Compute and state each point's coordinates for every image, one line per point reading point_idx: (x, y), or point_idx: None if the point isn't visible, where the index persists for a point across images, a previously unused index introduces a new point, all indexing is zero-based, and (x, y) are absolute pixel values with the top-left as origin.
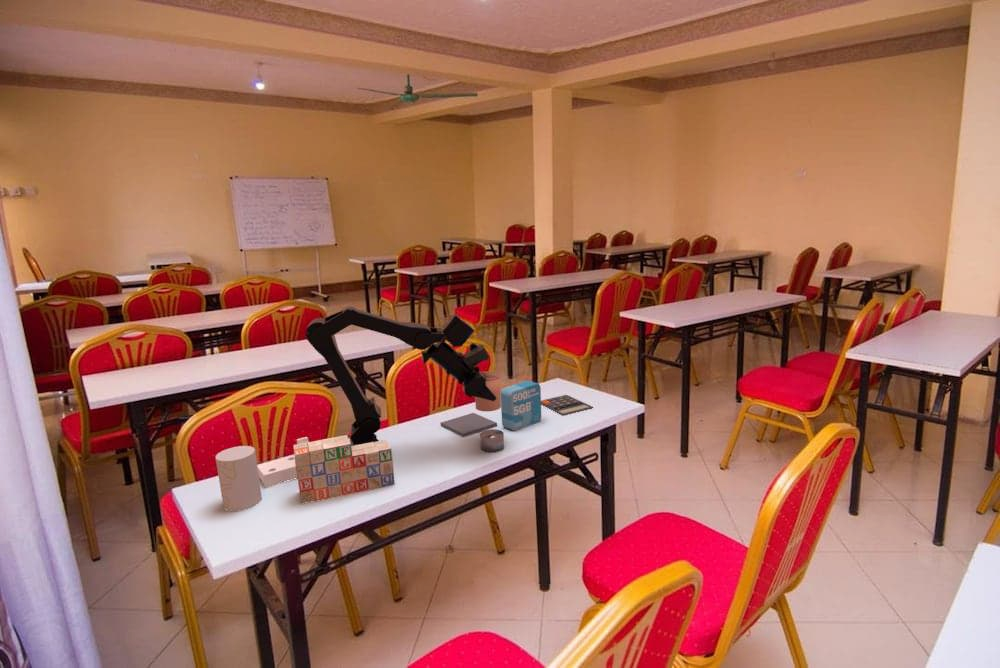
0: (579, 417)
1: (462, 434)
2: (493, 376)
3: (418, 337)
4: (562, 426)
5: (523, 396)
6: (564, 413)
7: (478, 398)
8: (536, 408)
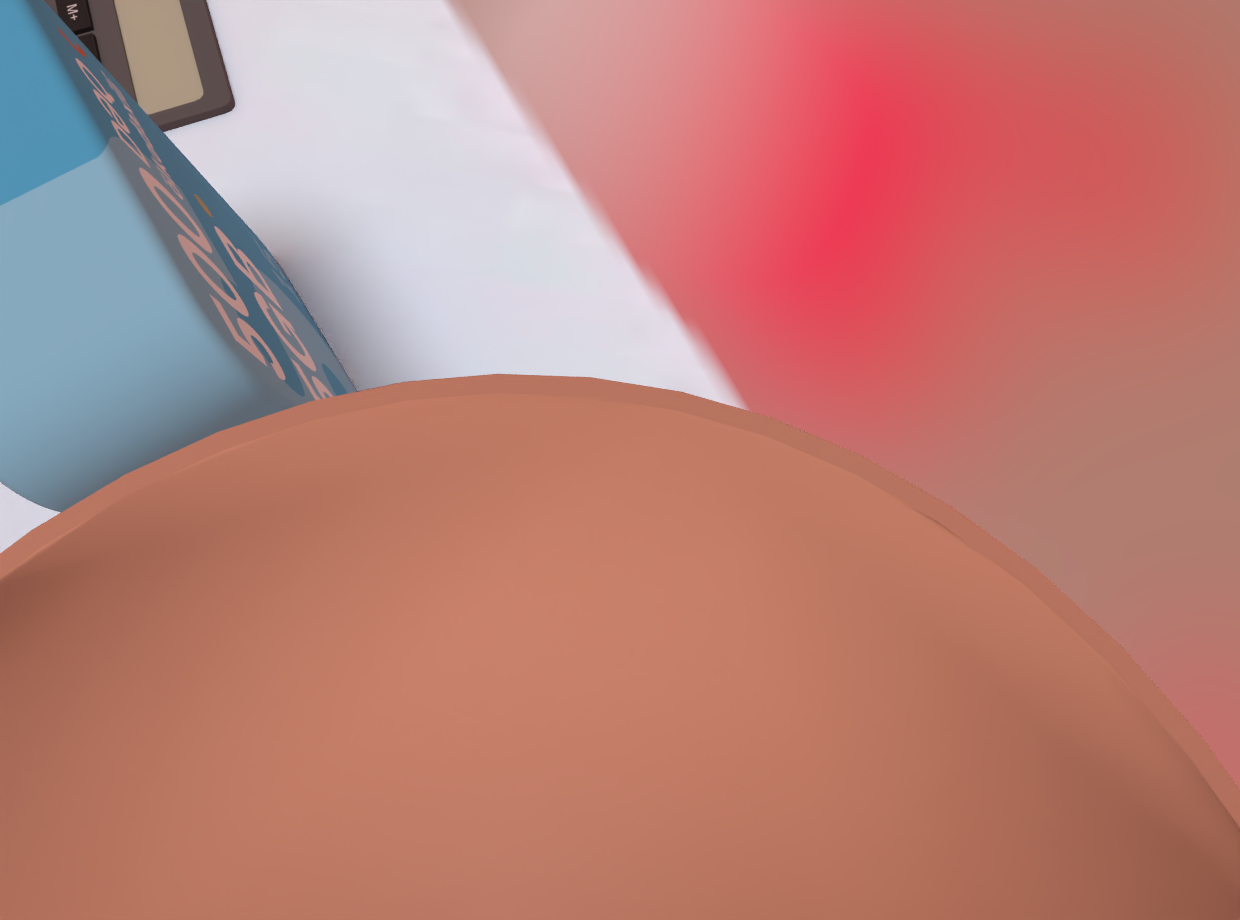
0: (310, 25)
1: None
2: (935, 800)
3: None
4: (431, 149)
5: (199, 240)
6: (210, 88)
7: None
8: (231, 220)
